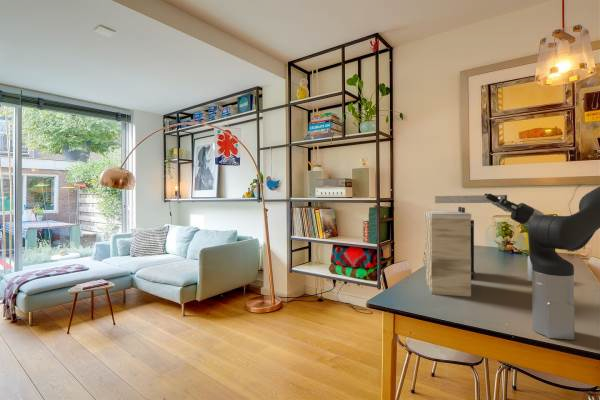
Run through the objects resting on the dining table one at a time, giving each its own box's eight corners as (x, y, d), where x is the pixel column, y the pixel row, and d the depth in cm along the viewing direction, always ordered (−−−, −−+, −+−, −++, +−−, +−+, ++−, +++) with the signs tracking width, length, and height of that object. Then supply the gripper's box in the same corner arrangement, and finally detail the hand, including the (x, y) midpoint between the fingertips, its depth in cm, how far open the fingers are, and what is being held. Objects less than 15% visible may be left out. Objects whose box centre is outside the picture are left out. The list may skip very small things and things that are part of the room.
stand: (471, 297, 120) (471, 208, 119) (432, 294, 124) (431, 208, 123) (458, 281, 141) (458, 206, 141) (425, 279, 145) (424, 206, 144)
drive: (507, 202, 124) (507, 194, 124) (436, 203, 131) (436, 196, 131) (503, 202, 128) (503, 194, 128) (434, 203, 135) (434, 196, 135)
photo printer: (535, 277, 147) (535, 250, 146) (546, 279, 143) (546, 252, 143) (525, 280, 141) (525, 253, 141) (536, 283, 137) (536, 254, 137)
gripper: (525, 207, 130) (485, 187, 134) (542, 209, 117) (497, 187, 120) (515, 223, 131) (475, 202, 135) (530, 226, 118) (486, 204, 121)
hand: (486, 195), depth 128 cm, fingers closed on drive, 4 cm apart
